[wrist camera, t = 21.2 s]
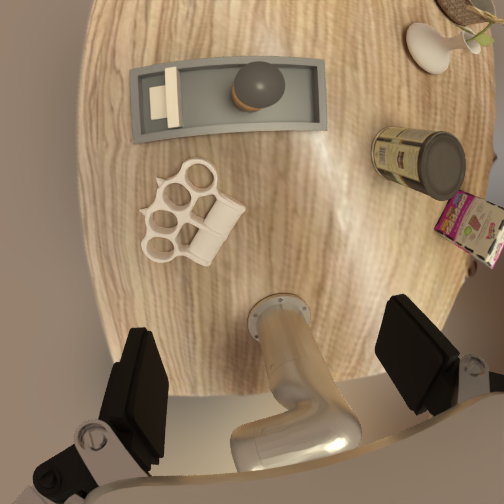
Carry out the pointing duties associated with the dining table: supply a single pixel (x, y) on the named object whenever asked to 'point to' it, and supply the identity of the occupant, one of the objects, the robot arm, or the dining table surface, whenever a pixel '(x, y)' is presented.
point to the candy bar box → (473, 226)
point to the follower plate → (168, 99)
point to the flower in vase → (445, 43)
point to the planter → (467, 10)
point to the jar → (257, 86)
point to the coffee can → (420, 160)
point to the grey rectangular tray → (229, 98)
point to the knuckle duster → (191, 218)
